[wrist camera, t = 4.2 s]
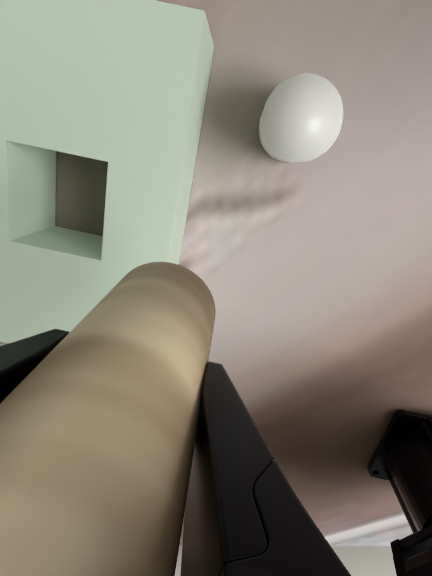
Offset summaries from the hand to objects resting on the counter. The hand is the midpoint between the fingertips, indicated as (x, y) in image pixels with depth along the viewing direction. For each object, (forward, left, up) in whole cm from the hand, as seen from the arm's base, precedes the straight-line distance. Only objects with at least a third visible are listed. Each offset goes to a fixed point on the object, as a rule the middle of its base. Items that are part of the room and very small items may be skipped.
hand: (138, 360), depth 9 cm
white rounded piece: (+8, -4, -14) cm, 16 cm away
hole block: (+2, +7, -14) cm, 15 cm away
